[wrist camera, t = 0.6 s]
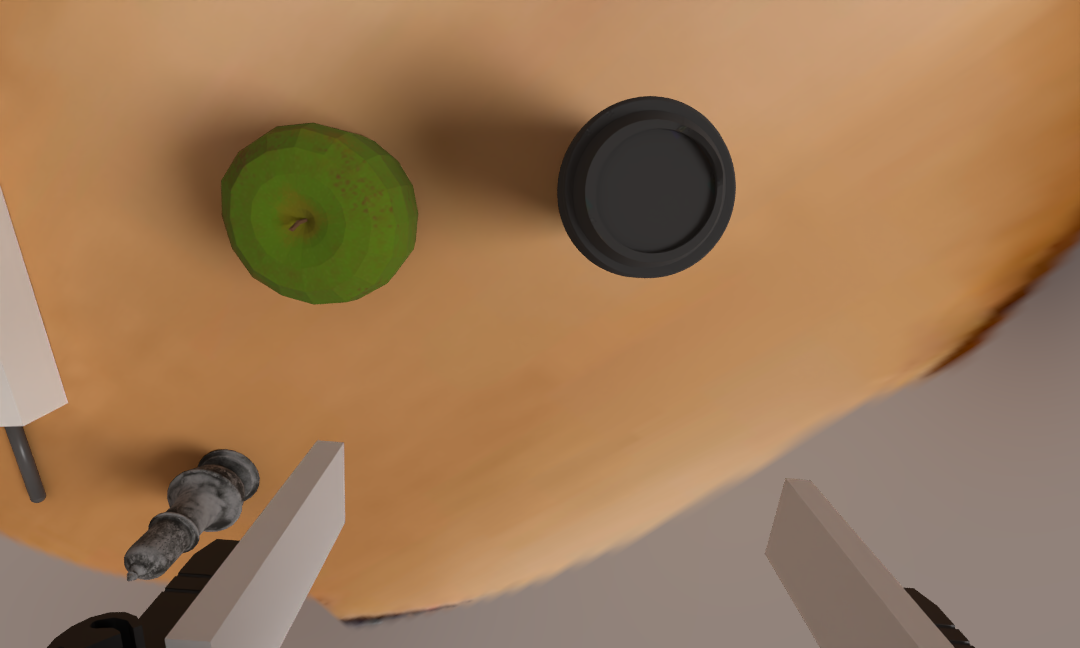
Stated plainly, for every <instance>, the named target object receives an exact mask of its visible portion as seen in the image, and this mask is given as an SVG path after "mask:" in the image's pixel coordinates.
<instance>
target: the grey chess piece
mask: <svg viewBox="0 0 1080 648" xmlns="http://www.w3.org/2000/svg"><path fill="white" fill-rule="evenodd" d="M259 480H260V478H259V473H258V471H257V469H256V467H255V465H254V464H253V463H252V462H251V461H250V459H248V458H247V457H246V456H244V455H243V454H240V453H238V452H236V451H232V450H216V451H213V452H210V453H209V454H207V455H205V456H204V457H203V458H202V460H201V461H200V462H199V465H198V467H197V468H194V469H191V470H188V471H184V472H182V473H181V474H179V475H178V476H176V477H175V478H174V479H173V481H172V482H171V483H170V485H169V488H168V495H167V499H168V502H169V506H170V508H169V509H168V510H167V511H166V512H164V513H160V514H158V515H156V516H155V517H154V518H153V519H152V520H151V521H150V524H149V530H148V531H147V532H146V533H145V534H144V535H143V536H142V537H140V538H139V539H138V540H137V541H136V542H135V543H134V544H133V545H132V546H131V547H130V548H129V549H128V551H127V552H126V554H125V557H124V565H125V568H126V569H127V571H128V573H127V581H132V580H136V579H137V578H139V579H144V580H149V579H154V578H158V577H159V576H161V575H162V574H164V573H165V572H166V571H167V570H168V569H169V567H170V566H171V565H172V564H173V563H174V562H175V561H176V560H177V559H178V557H179V556H180V555H181V554H182V553H185V552H189V551H190V550H192V549H193V548H194V547H195V546H196V545H197V544H198V541H199V535H200V534H201V533H202V532H203V531H206V532H214V531H220V530H224V529H227V528H228V527H230V526H232V525H233V524H234V523H235V522H236V521H237V520H238V518H239V516H240V514H241V512H242V505H243V502H244V501H246V500H247V499H249V498H251V497H252V496H253V495H254V493H255V492H256V491H257V489H258V486H259Z"/></svg>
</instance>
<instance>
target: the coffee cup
mask: <svg viewBox="0 0 1080 648" xmlns="http://www.w3.org/2000/svg"><path fill="white" fill-rule="evenodd" d="M735 191H736V182H735V172H734V167H733V163H732V159H731V156H730V153H729V151H728V149H727V146H726V144H725V143H724V141H723V139H722V137H721V136H720V134H719V132H718V131H717V130H716V128H715V127H714V126H713V125H712V123H711V122H710V121H709V120H708V119H707V118H706V117H705V116H703V115H702V114H701V113H700V112H698V111H697V110H695V109H694V108H692V107H690V106H688V105H686V104H684V103H682V102H679V101H677V100H673V99H670V98H664V97H656V96H645V97H636V98H631V99H627V100H624V101H621V102H618V103H616V104H614V105H612V106H609V107H608V108H606V109H604V110H603V111H601V112H600V113H598V114H597V115H595V116H594V117H593V118H592V119H591V120H589V121H588V122H587V123H586V124H585V125H584V126H583V127H582V129H581V130H580V131H579V132H578V133H577V135H576V136H575V138H574V139H573V141H572V142H571V144H570V146H569V148H568V150H567V152H566V154H565V156H564V159H563V162H562V165H561V168H560V172H559V178H558V187H557V198H558V207H559V212H560V216H561V220H562V223H563V225H564V228H565V230H566V232H567V234H568V236H569V238H570V239H571V241H572V242H573V244H574V245H575V246H576V248H577V249H578V250H579V251H580V252H581V253H582V254H583V255H584V256H585V257H586V258H587V259H588V260H590V261H591V262H592V263H594V264H595V265H597V266H598V267H600V268H602V269H604V270H606V271H609V272H611V273H614V274H617V275H621V276H626V277H635V278H657V277H664V276H668V275H672V274H675V273H678V272H680V271H683V270H685V269H687V268H689V267H690V266H692V265H694V264H695V263H697V262H698V261H699V260H701V259H702V258H703V257H704V256H705V255H707V254H708V253H709V252H710V251H711V249H712V248H713V247H714V246H715V245H716V243H717V242H718V241H719V239H720V238H721V236H722V235H723V233H724V231H725V229H726V227H727V225H728V222H729V220H730V217H731V214H732V211H733V206H734V201H735Z"/></svg>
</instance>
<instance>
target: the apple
mask: <svg viewBox="0 0 1080 648" xmlns="http://www.w3.org/2000/svg"><path fill="white" fill-rule="evenodd" d="M221 194H222V217H223V221H224V224H225V227H226V230H227V233H228V237H229V240H230V243H231V246H232V249H233V250H234V252H235V253H236V254H237V256H238V257H239V259H240V260H241V261H242V263H243V264H244V266H245V267H246V269H247V270H248V271H249V273H250V274H251V276H252V277H253V278H255V279H257V280H258V281H260V282H261V283H263V284H265V285H266V286H268V287H269V288H271V289H273V290H274V291H276V292H277V293H279V294H281V295H283V296H286V297H290V298H293V299H297V300H300V301H304V302H307V303H311V304H328V303H341V302H349V301H353V300H357V299H359V298H361V297H363V296H365V295H367V294H369V293H370V292H372V291H374V290H376V289H378V288H380V287H381V286H383V285H385V284H387V283H388V282H389V281H390V279H391V278H392V277H393V276H394V275H395V274H396V272H397V271H398V269H399V268H400V267H401V265H402V264H403V263H404V261H405V260H406V259H407V257H408V256H409V255H410V253H411V252H412V250H413V249H414V245H415V241H416V231H417V220H418V210H417V205H416V200H415V195H414V189H413V185H412V184H411V182H410V180H409V179H408V177H407V175H406V174H405V172H404V170H403V169H402V167H401V165H400V164H399V162H398V161H397V160H396V159H395V158H394V157H392V156H391V155H390V154H389V153H388V152H387V151H385V150H384V149H383V148H382V147H381V146H379V145H378V144H377V143H376V142H374V141H372V140H370V139H368V138H366V137H364V136H362V135H358V134H354V133H350V132H347V131H343V130H339V129H335V128H331V127H328V126H324V125H320V124H316V123H305V124H296V125H287V126H278V127H276V128H274V129H273V130H271V131H270V132H268V133H266V134H265V135H263V136H262V137H260V138H259V139H257V140H256V141H254V142H253V143H251V144H250V145H248V146H247V147H245V148H244V149H242V150H241V151H239V152H238V154H237V156H236V157H235V159H234V161H233V162H232V164H231V166H230V167H229V169H228V170H227V172H226V174H225V175H224V177H223V179H222V180H221Z"/></svg>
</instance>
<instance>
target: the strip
mask: <svg viewBox="0 0 1080 648" xmlns="http://www.w3.org/2000/svg"><path fill="white" fill-rule="evenodd" d="M67 403H68V401H67V398H66V395H65V391H64V388H63V385H62V382H61V379H60V375H59V372H58V369H57V366H56V363H55V359H54V356H53V353H52V350H51V347H50V343H49V340H48V337H47V334H46V331H45V327H44V324H43V321H42V318H41V315H40V311H39V308H38V305H37V302H36V299H35V296H34V292H33V289H32V286H31V283H30V280H29V276H28V273H27V270H26V267H25V264H24V260H23V257H22V254H21V251H20V248H19V244H18V241H17V238H16V235H15V232H14V228H13V225H12V222H11V219H10V216H9V212H8V209H7V206H6V203H5V200H4V196H3V193H2V190H1V187H0V427H5V430H6V433H7V436H8V438H9V441H10V444H11V447H12V450H13V452H14V455H15V458H16V461H17V464H18V466H19V469H20V472H21V475H22V478H23V480H24V483H25V486H26V489H27V492H28V494H29V497H30V500H31V501H32V502H34V503H39V502H42V501H43V500H44V499H45V498H46V493H45V490H44V488H43V485H42V482H41V479H40V476H39V473H38V470H37V467H36V464H35V462H34V459H33V456H32V453H31V450H30V447H29V444H28V441H27V438H26V435H25V433H24V430H23V427H22V426H25V425H27V424H29V423H30V422H32V421H34V420H36V419H38V418H40V417H42V416H44V415H46V414H48V413H50V412H52V411H54V410H55V409H57V408H59V407H61V406H63V405H65V404H67Z"/></svg>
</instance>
